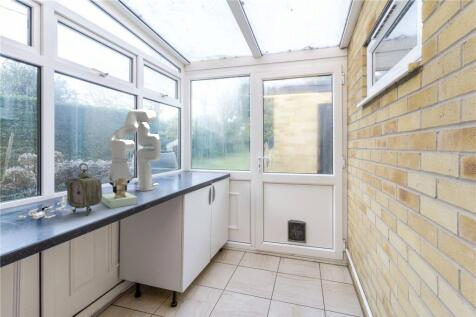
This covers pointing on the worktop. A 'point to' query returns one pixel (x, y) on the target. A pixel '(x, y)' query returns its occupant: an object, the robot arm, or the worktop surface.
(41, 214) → the miniature set
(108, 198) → the board
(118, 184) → the oak post
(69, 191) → the tabletop clock
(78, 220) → the worktop surface
